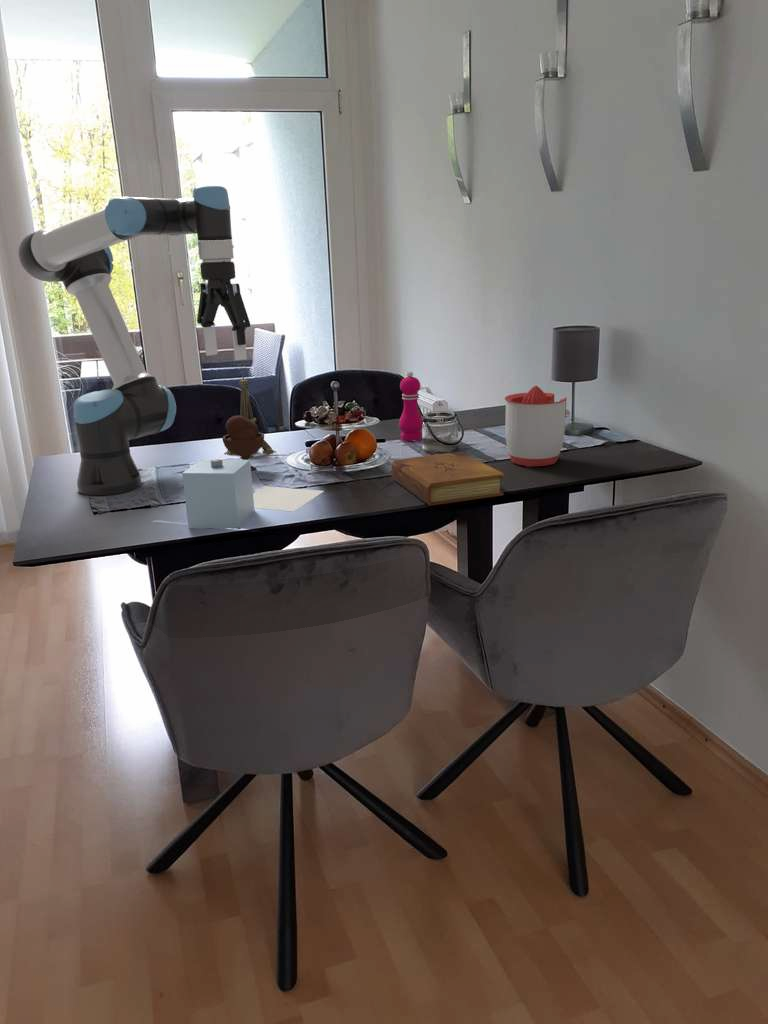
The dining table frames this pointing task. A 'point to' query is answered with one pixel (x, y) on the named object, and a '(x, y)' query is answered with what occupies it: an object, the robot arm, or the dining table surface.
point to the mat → (282, 498)
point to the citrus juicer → (534, 427)
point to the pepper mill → (410, 409)
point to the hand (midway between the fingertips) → (225, 357)
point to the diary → (447, 478)
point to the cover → (218, 493)
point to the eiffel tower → (249, 413)
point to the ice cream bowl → (243, 437)
